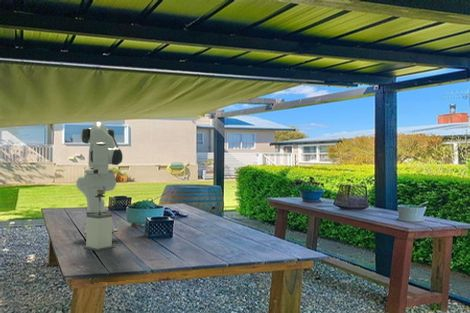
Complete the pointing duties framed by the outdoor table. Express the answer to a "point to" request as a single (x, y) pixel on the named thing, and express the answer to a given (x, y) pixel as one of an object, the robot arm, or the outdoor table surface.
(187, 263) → the outdoor table surface
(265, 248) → the outdoor table surface
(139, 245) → the outdoor table surface
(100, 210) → the plunger
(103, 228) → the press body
